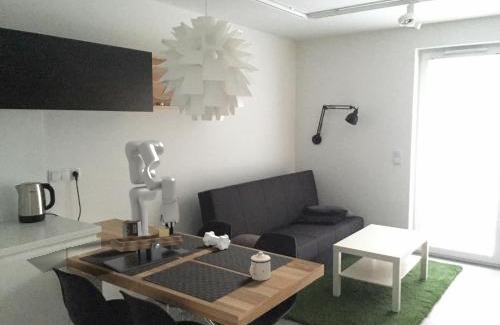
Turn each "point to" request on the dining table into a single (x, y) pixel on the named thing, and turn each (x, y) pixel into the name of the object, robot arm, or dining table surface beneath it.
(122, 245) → the long wooden tray
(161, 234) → the yellow wooden cube
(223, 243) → the dog bone
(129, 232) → the coffee box
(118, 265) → the stand
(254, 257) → the teacup with lid
